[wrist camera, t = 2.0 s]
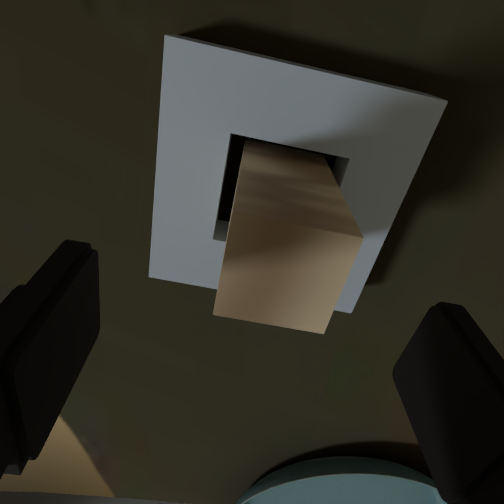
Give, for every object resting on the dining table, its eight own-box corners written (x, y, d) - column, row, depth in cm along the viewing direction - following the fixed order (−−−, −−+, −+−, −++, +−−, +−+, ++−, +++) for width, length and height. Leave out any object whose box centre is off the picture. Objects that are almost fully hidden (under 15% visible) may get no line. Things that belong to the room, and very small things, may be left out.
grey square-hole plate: (426, 93, 17) (448, 101, 15) (343, 288, 23) (351, 313, 21) (177, 34, 16) (164, 35, 14) (159, 254, 22) (148, 276, 20)
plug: (323, 154, 19) (363, 238, 11) (301, 224, 21) (323, 333, 14) (245, 138, 19) (232, 212, 11) (231, 210, 21) (213, 314, 13)
